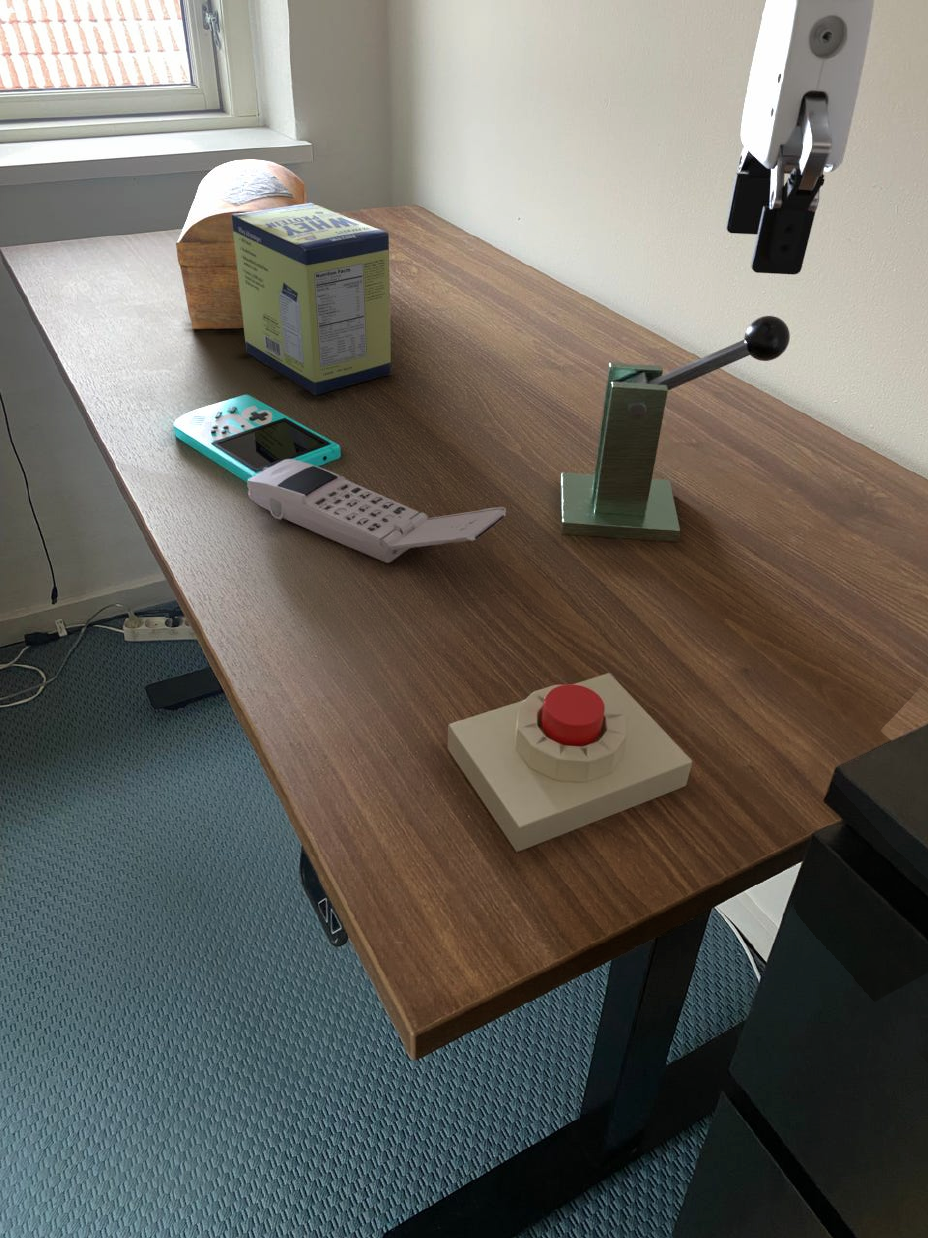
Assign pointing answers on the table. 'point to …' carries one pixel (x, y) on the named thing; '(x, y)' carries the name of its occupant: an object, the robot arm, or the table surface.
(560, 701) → the button
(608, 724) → the button block
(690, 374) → the lever
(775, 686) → the table surface
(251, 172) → the wooden box
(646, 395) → the bracket
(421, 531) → the mobile phone
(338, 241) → the protein box
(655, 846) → the table surface
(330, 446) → the handheld game console
